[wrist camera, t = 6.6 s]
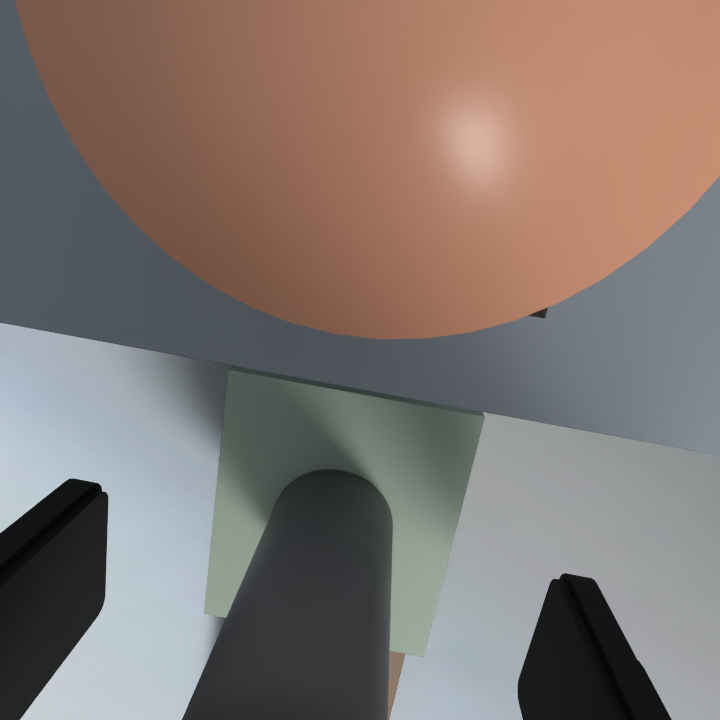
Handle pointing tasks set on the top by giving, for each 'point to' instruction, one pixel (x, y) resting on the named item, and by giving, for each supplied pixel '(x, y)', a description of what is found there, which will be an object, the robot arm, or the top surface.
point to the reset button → (391, 144)
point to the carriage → (326, 544)
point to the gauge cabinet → (351, 353)
